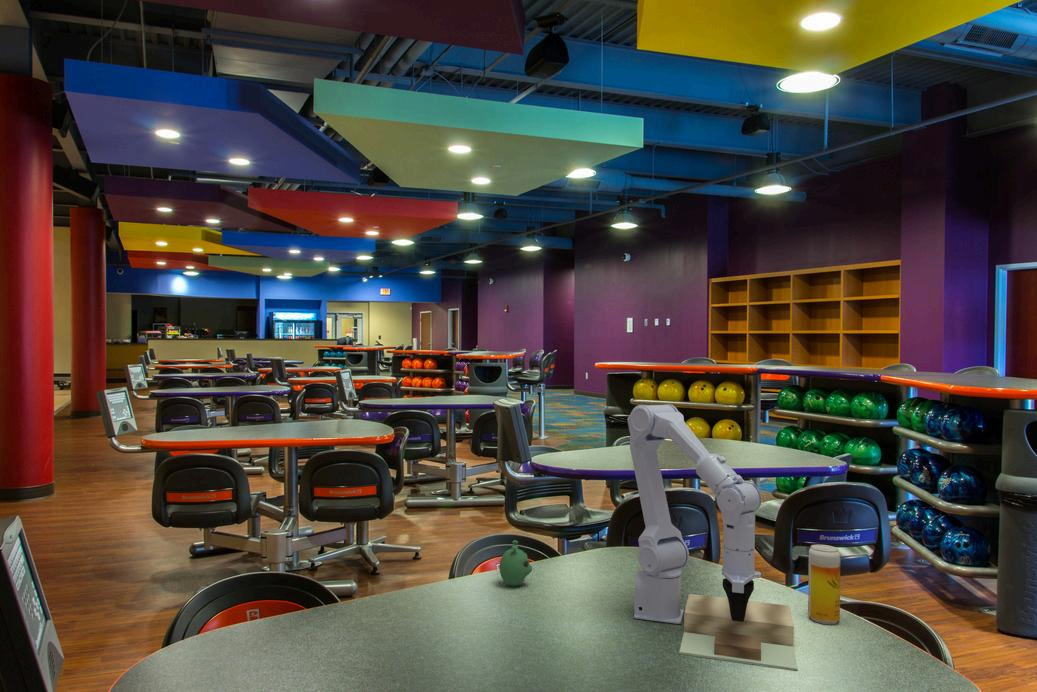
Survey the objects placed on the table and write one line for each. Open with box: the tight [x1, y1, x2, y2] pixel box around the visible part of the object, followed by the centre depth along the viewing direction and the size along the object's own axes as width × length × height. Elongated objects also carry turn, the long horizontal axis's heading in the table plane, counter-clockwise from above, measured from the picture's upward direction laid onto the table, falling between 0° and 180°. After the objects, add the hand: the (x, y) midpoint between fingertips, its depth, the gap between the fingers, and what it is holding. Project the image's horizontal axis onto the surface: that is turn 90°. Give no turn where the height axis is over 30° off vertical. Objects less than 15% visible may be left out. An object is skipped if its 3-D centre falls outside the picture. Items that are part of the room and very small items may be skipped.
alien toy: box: [499, 539, 533, 587], centre depth 165 cm, size 7×8×10 cm
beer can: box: [807, 544, 841, 625], centre depth 147 cm, size 6×6×15 cm
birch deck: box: [683, 593, 795, 647], centre depth 140 cm, size 20×12×4 cm, turn 72°
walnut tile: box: [714, 631, 761, 661], centre depth 128 cm, size 8×6×2 cm
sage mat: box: [678, 631, 798, 672], centre depth 129 cm, size 20×10×1 cm, turn 72°
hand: (737, 620), depth 132 cm, fingers closed
